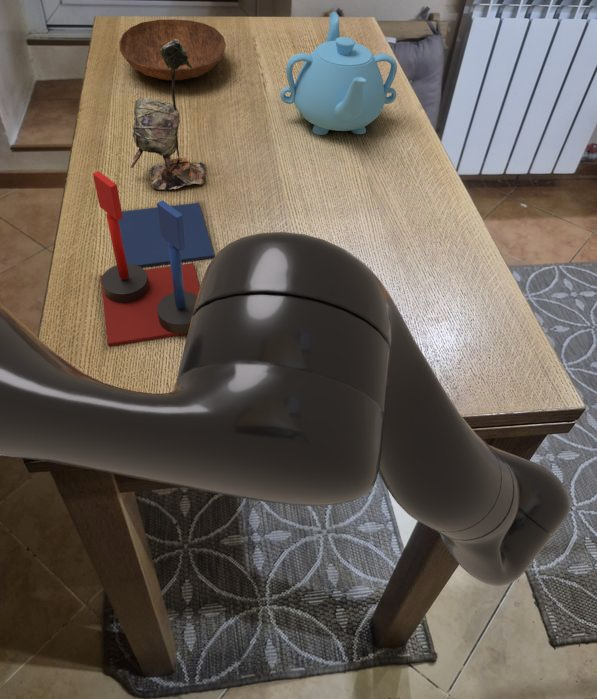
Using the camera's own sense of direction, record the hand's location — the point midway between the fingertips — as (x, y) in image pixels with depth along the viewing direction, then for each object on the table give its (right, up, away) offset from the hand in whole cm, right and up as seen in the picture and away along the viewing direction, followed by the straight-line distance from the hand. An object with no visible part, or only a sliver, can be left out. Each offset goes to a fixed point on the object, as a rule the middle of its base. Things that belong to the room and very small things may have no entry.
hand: (236, 308), depth 64 cm
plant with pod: (-13, +22, +31) cm, 41 cm away
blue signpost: (-8, 0, +11) cm, 14 cm away
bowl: (-17, +50, +55) cm, 76 cm away
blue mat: (-12, +12, +22) cm, 28 cm away
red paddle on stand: (-15, +4, +14) cm, 21 cm away
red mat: (-12, +1, +13) cm, 18 cm away
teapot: (+13, +36, +46) cm, 60 cm away
